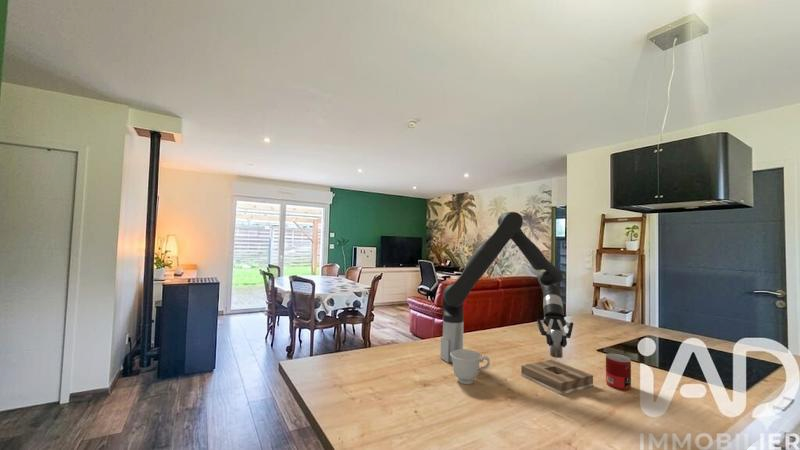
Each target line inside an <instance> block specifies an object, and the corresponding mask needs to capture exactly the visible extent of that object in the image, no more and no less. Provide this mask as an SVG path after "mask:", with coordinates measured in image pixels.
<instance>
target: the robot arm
mask: <svg viewBox="0 0 800 450" xmlns="http://www.w3.org/2000/svg"><path fill="white" fill-rule="evenodd" d="M523 223H524V219H523V216H522V215H521V214H520V213H519V212H516V211H509V212H508V211H507V212H504V213H501V214H500V215H499V217H498V219H497V225H498V227H497V228H496V229H495V231H494V232H493V233H492V234H491V235H490V236H489V237H488V238H487V239H485V240H484V241H483V242H482V243H481V244H480V245H479V246H478V247H477V248H476V250H474V252H473V253H472V254H471V256H470V257H469V258H468V261H467V262H466V265H465V267H464V268H463V271H462V272H461V274H460V276H459V277H458V278H457V279H456V280H455V281H454V283H453V284H448V285H447V286H446V287H445V288H444V290H443V293H442V336H441V337H440V353H439V355H440V357H439V358H440V359H442V360H443V361H444V362H446V363H453V361H452V356H451V355H450V353H451V352H452V351H454V350H459V349H464V318H465V317H464V302H465V301H466V299H467V297H468V296H469V294H470V292H471V290H472V289H473V287H474V286H475V284H476V283H477V282H478V281H479V280H480V279H481V278H482V277H483V275H484V274H485V273H487V271H488V269H489V268H490V267H491V265H493V263H494V262H495V260H496V259H497V257H498V256H499V255H500V253H501V252H502V250H503V249H504V248H505V246H506V245H507V244H508V242H509V241H513V242H512V243H514V244H515V245H516V246H517V248H518V249H519V250H520V252H521V253H522V255H523V256H524V257H525V259H526V260H527V261H528V263H529V264H530V265H531V267H532V268H533V269H534V270H535V271H541V270H543V271H542V272H539V273H538V276H537V282H538V284H539V285H540V287H541V291H542V298H543V304H542V309H543V317H544V318H543V319H537V320H536V324H537V328H538V330H539V333H540V335H541V336H545V338H546V340H545V341H546V344H547V345H548V346H549V347H550V346H551V336H550V329H560V330H562V331H563V348H566V346H567V344H568V343H567V339H570V338H571V337H572V336H571V335H572V332H573V329H574V328H573V327H574V322H572V321H571V322H568V321H566V319H565V312H564V306H563V305H564V304H563V300H562V294H561V289H560V288H559V286H558V284H559V283H562V282H563V279H564V275H563V273H562V271H561V270H560V269H559V268H558V267H556V266H555V265H554V264H553V263H552V262H550V261H549V260H548V259H547V258H546V256H545V255H544V254H543V252H542V251H541V250H540V248H538V246H537V244H535V243H534V242H533V241H532V240H531V239H529V237H527V236H528V235H526V234H525V233H524V232H523V230H522V227H523ZM543 325H545V326H546V327H547V330H545V328H544V326H543ZM565 327H566V328H567V329H568V331H567V333H566V331H565Z"/></svg>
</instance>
